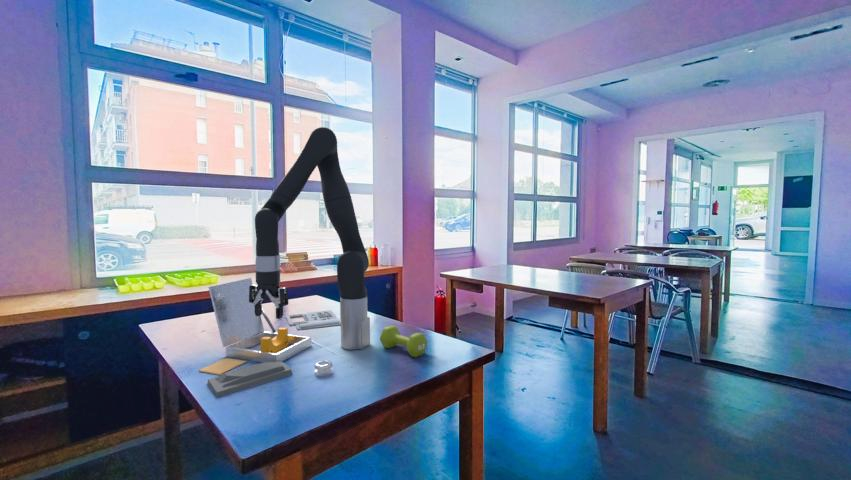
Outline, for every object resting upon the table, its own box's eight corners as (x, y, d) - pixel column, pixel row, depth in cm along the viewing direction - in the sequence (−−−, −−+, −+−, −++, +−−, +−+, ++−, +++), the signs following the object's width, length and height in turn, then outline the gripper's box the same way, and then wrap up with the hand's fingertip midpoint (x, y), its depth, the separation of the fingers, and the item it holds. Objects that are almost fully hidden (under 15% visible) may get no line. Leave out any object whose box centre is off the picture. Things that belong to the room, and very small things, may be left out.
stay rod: (277, 334, 143) (276, 308, 142) (275, 335, 142) (275, 309, 141) (261, 332, 145) (260, 306, 145) (259, 333, 145) (258, 307, 144)
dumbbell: (429, 353, 129) (429, 332, 129) (412, 360, 123) (412, 338, 123) (394, 342, 140) (394, 322, 140) (377, 348, 134) (377, 327, 134)
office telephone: (342, 320, 161) (291, 326, 152) (342, 326, 161) (291, 333, 153) (331, 307, 182) (285, 311, 173) (331, 312, 182) (285, 317, 174)
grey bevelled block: (206, 386, 107) (205, 373, 106) (278, 366, 120) (278, 355, 120) (217, 399, 99) (217, 386, 99) (293, 376, 113) (293, 364, 113)
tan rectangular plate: (246, 362, 122) (246, 361, 122) (219, 375, 112) (219, 373, 112) (226, 359, 124) (226, 357, 124) (198, 371, 115) (198, 370, 115)
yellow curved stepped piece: (276, 345, 138) (276, 327, 137) (288, 345, 137) (287, 327, 136) (256, 358, 126) (255, 338, 125) (268, 358, 125) (267, 339, 125)
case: (313, 344, 138) (313, 336, 138) (276, 364, 120) (276, 355, 120) (267, 338, 145) (267, 330, 144) (226, 356, 127) (225, 347, 126)
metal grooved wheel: (336, 372, 115) (325, 368, 118) (335, 362, 114) (325, 358, 117) (321, 378, 111) (311, 373, 114) (321, 367, 110) (311, 363, 114)
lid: (251, 277, 143) (248, 278, 144) (210, 286, 127) (207, 287, 127) (264, 331, 143) (261, 331, 144) (224, 347, 127) (221, 347, 127)
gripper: (293, 268, 131) (293, 316, 132) (259, 266, 136) (260, 312, 137) (277, 272, 124) (278, 322, 125) (242, 269, 129) (243, 317, 130)
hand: (268, 316), depth 131 cm, fingers open, 8 cm apart
